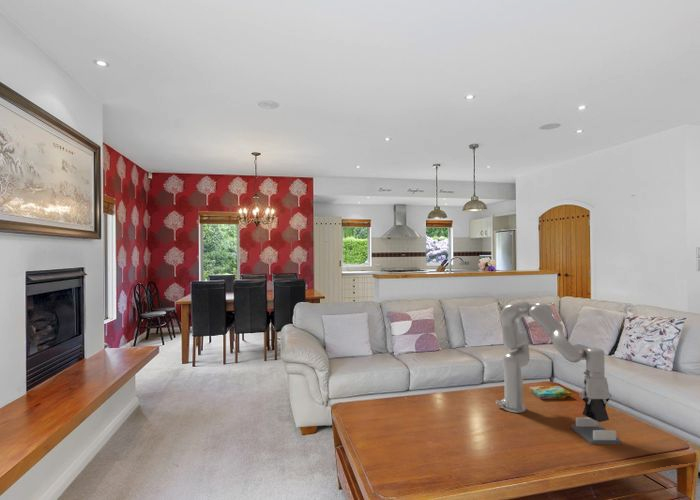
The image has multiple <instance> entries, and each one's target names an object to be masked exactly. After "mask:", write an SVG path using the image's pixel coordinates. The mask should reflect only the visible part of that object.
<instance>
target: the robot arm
mask: <svg viewBox="0 0 700 500" xmlns="http://www.w3.org/2000/svg"><path fill="white" fill-rule="evenodd" d="M553 314H554V313H553V308H552V307H551V306H550V305H549V304H547V303H542V302H533V301H532V302H531V301H517V302H514V303H510V304H507V305H505V306H504V307H503V308H502V310H501V312H500V321H501V330H502V342H503V346H504V348H505V349H506V350H508V351H510V352H507V353H505V355H504V356H503V358H502V366H503V367H502V368H503V373H504V375H503V377H504V378H503V380H504V385H503V386H504V387H503V388H504V389H503V390H504V394H503V395H504V397H503V398H502V399H501V400H498V399H497V400H495V405H499V406H501V409H503V410H505V411H507V412H511V413H514V414H515V413H517V414H518V413H519V414H520V413H525V412H526V410H527V407H526V406H525V405H524V403H523V402H524V401H523V400H524V395H523V393H524V389H523V387H524V386H523V385H524V382H523V381H524V380H523V372H522V368H523V367H526V366H527V365H528V364H529V362H530V360H531V359H530V348H529V340H528V337H527V335H526V333H524V332H522V331H521V330H519V325H518V322H517V319H520V318H524V317H525V318H526V317H529V318H531V319H532V320H533V321H534V322H535V323H536V324H537V325H538V326H539V327H540V328H541V329H542V330H543V331H544V332H545V333H546V334H547V335H548V337H549V340H550V342H551V343H552V345H553V347H554V348H555V350H557V352H558V353H559V354H560V355H561V356H562V357H563V358H564V359H566V361H568V362H570V363H579V362H581V361H584V360H585V371H583V375H584V378H583V382H582V391H580V392H579V394H578V396H579V397H580V399H581V400H582V401H583V402H584V403H585V404H584V408H585V409H586V411H588V412H589V413H591V404H590V402H591V399H602V400H603V402H604V404H603V405H604V407H605V408H606V405H607V404H608V402H609V401H610V399H611V398H612V397H613V395H612V394H611V393H610V391H609V390H610V389H609V384H608V379H607V377H606V375H605V351H604V350H603V349H602V348H600V347H591V346H587V345H585V344H581V343H576V344H574V345H573V344H572V343H570V341H569V340H568V339H567V337H566V336H565V334H564V331H563V330H564V328H563V325H562V323H561V322H560V321H559V320H557V318H556V317H554V316H553ZM606 409H607V408H606Z"/></svg>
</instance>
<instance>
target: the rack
mask: <svg viewBox="0 0 700 500" xmlns="http://www.w3.org/2000/svg"><path fill="white" fill-rule="evenodd" d="M570 428H571V429H572V430H573V431H574V432H575V433H577V435H579V436H581V438H583V439H584V440H585V441H586V442H588V443H589V444H590V445H622V440H621V439H620V438H618V437H617V431H616V430H614V429H613V430H612V429H611V430H610V429H609V430H607V429H606V428H605V427H602V426H601V425H600V424H598V421H596V420H593V419H591V418H589V417H575V424H570Z"/></svg>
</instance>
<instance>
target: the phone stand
mask: <svg viewBox="0 0 700 500" xmlns="http://www.w3.org/2000/svg"><path fill="white" fill-rule="evenodd" d="M590 404H591V413H589V412H588V411H586V409H585V407H584V409H583V411H582V415H583V416H584V417H586V418H591V419H593V420H596V421H597V423H601V422H607V421H609V420H610V419H609V415H608V413H607V412H608V411H607V408H605V407H604V405H603V404H604V402H603V400H602V399H591V402H590Z"/></svg>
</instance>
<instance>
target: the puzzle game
mask: <svg viewBox="0 0 700 500" xmlns="http://www.w3.org/2000/svg"><path fill="white" fill-rule="evenodd" d="M528 390H529V391H530V392H531V394H532V395H534V396H535V397H537V398H538V399H540V400H556V399H557V400H558V399H565V398H566V397H568V396H569V397H570V396H572V395H573V394H572V392H570V391H569V390H567V389H565V388H563V387H561V386H560V385H547V386H543V385H539V386H529V387H528Z"/></svg>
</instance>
